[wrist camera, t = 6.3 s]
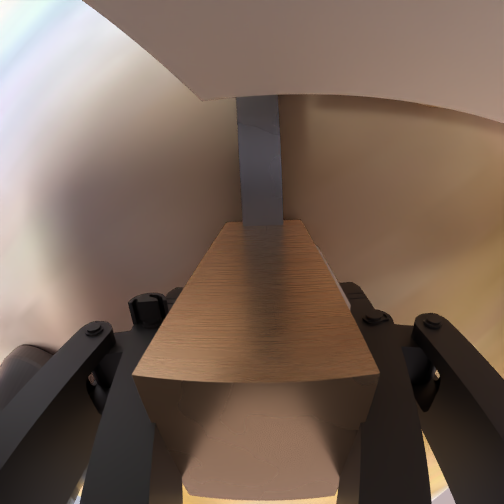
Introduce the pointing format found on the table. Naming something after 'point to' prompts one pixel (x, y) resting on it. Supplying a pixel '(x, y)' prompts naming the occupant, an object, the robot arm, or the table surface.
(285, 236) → the hook tool
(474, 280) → the table surface
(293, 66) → the cabinet
